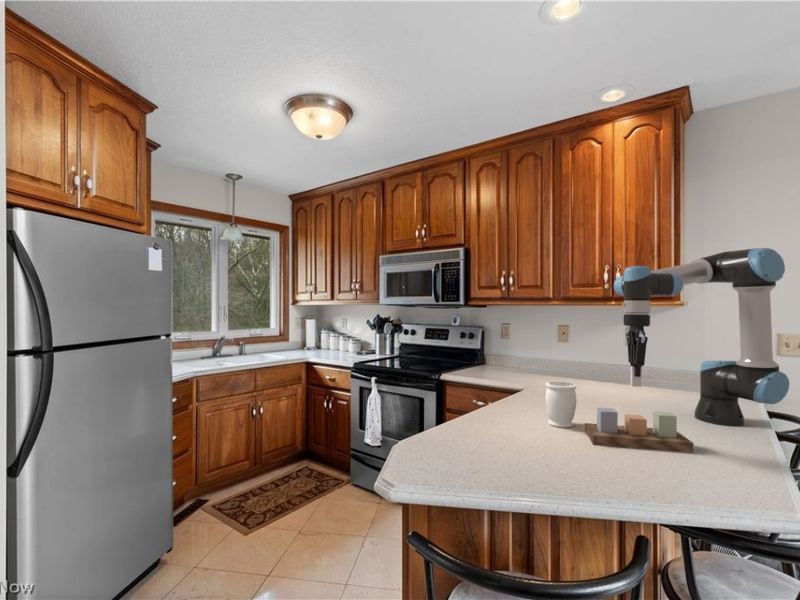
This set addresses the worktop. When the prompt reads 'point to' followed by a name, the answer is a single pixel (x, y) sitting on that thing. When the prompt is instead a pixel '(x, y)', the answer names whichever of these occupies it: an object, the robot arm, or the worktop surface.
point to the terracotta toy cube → (635, 425)
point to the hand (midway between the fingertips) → (636, 386)
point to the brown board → (638, 440)
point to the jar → (560, 403)
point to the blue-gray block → (607, 420)
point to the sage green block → (664, 424)
